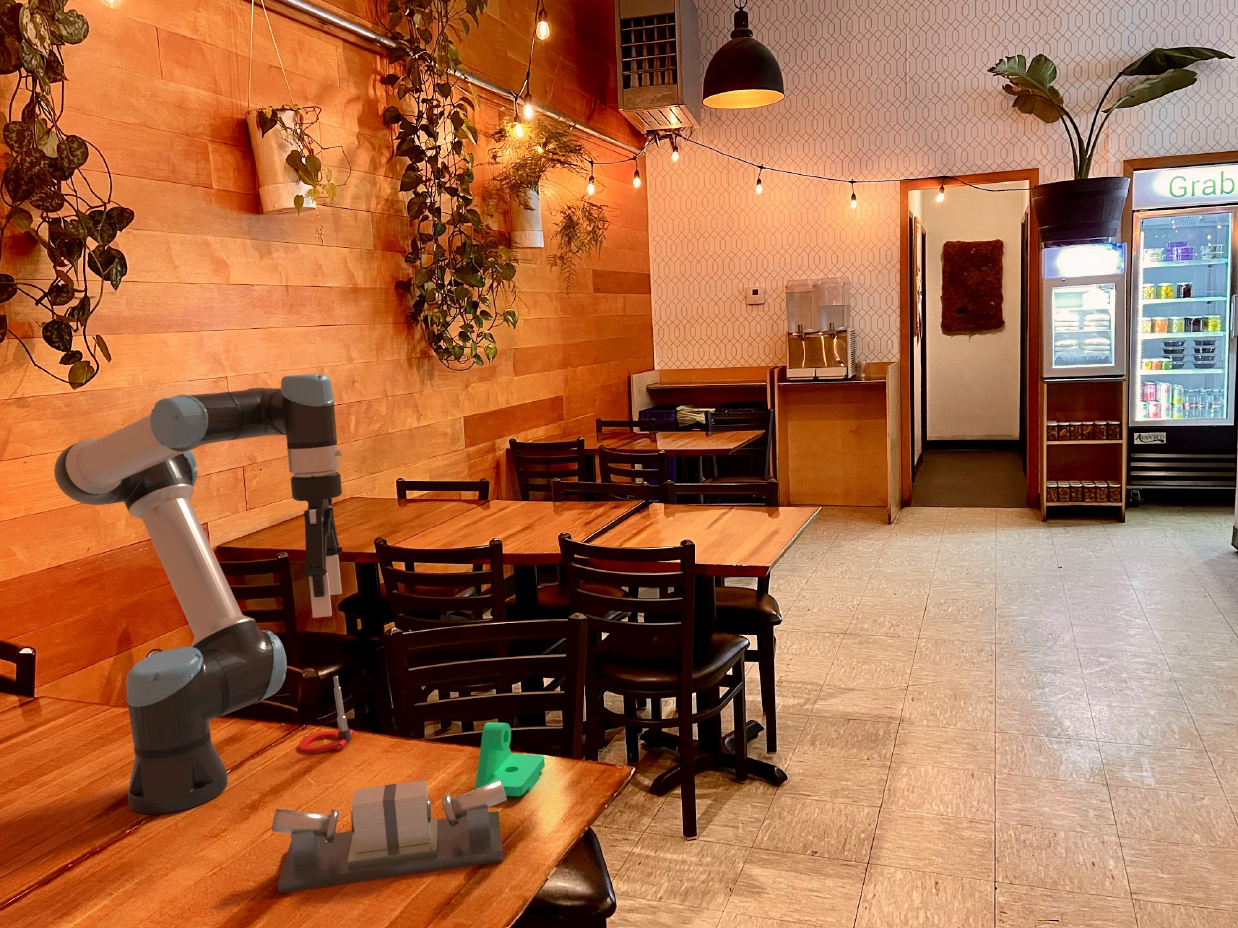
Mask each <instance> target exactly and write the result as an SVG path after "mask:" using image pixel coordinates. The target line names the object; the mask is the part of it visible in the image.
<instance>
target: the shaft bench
mask: <svg viewBox="0 0 1238 928" xmlns="http://www.w3.org/2000/svg"><path fill="white" fill-rule="evenodd" d="M507 799H508V798H507V796H506V794H505V790H504V787H503V785H502V782H501V780H497V781H495V782H492V783H490V784H487V785H485V786H482V787H480V788H477V789H476V788H474V789H472V790H470V791H467V792H464V793H462V794H460V795H459V794H458V796H454V797H452V795H451V794H450V793H448V794H446V795H442V797H441V801H442V807H443V810H444V811H443V812H444V813H445V816H446V818H445V817H444V818H434V819H432V823H430V843H425V844H418V845H411V846H404V847H399V848H393V849H382V850H375V851H368V852H360V853H356V843H355V833H353V831H352V830H349V831H343V832H336V830H337V826H338V820H339V814H340V810H339V809H334V808H333V809H331V812H330V814H328V813H326V814H325V813H318V812H309V811H300V810H293V809H292V810H291V809H281V808H276V809H275V812H274V815H273V820H272V825H271V833H272V832H273V833H282V834H289V835H290V839H291V840H290V843H289V847H288V850H287V853H286V856H285V859H284V863H283V866H282V868H281V873H280V875H279V877H278V882H277V886H278V887H277V888H278V893H279V894H285V893H290V892H291V893H292V892H298V891H304V890H310V889H317V888H325V887H331V886H333V887H334V886H340V885H345V884H352V883H353V884H354V883H359V882H366V881H367V882H368V881H374V880H380V879H381V880H382V879H387V878H394V877H401V876H408V875H415V874H416V875H417V874H423V873H428V872H436V871H443V870H451V869H457V868H462V867H464V868H465V867H471V866H477V865H484V864H493V863H499V862H504V853H503V852H504V849H503V843H502V842H503V841H502V832H501V824H500V823H501V821H500V812H499V810H496V811H489V807H492V806H495V805H498V804H501V803H502V802H505V801H507Z"/></svg>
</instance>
